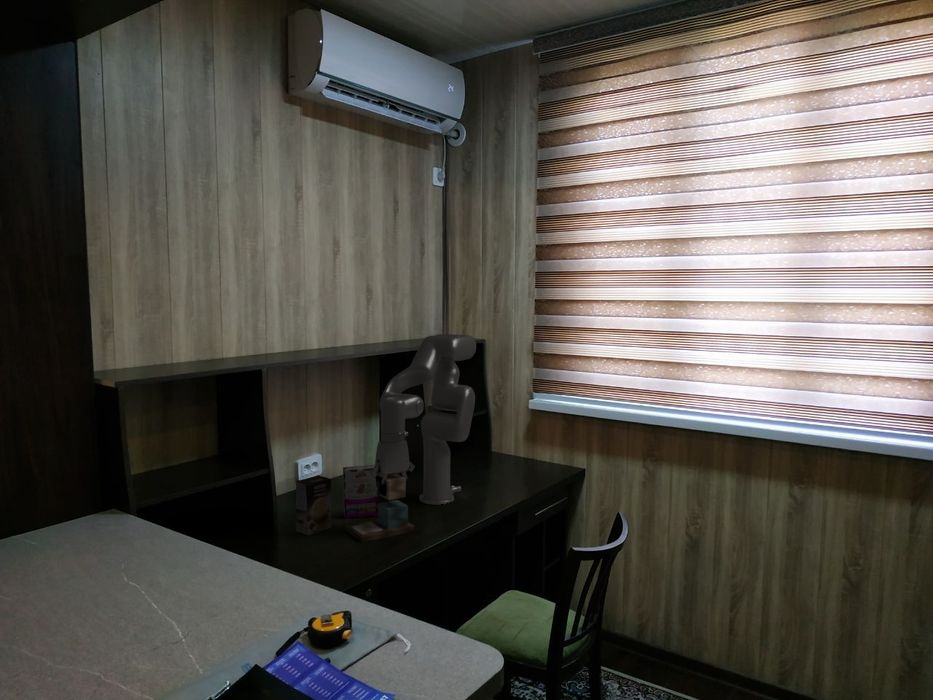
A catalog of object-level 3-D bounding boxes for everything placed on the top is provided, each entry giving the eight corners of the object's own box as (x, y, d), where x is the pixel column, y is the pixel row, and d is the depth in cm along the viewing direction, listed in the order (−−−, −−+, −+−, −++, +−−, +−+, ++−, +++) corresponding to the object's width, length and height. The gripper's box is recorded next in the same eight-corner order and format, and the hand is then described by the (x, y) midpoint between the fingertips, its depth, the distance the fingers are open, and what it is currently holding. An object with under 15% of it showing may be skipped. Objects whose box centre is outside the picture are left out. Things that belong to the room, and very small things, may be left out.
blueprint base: (396, 519, 221) (396, 497, 220) (414, 530, 211) (414, 507, 210) (345, 530, 211) (345, 507, 210) (362, 542, 201) (362, 518, 200)
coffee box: (308, 536, 206) (307, 485, 204) (295, 531, 210) (294, 480, 208) (332, 528, 213) (331, 478, 211) (319, 523, 217) (318, 474, 215)
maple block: (396, 492, 216) (396, 473, 216) (405, 497, 212) (405, 478, 211) (379, 495, 213) (379, 476, 212) (388, 500, 208) (388, 481, 208)
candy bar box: (376, 511, 228) (376, 464, 227) (378, 516, 224) (378, 468, 222) (342, 514, 225) (342, 466, 224) (344, 519, 221) (343, 470, 219)
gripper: (410, 432, 219) (410, 486, 220) (362, 438, 209) (362, 494, 210) (422, 436, 212) (422, 492, 214) (373, 442, 203) (373, 501, 204)
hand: (392, 492), depth 212 cm, fingers closed on maple block, 6 cm apart
